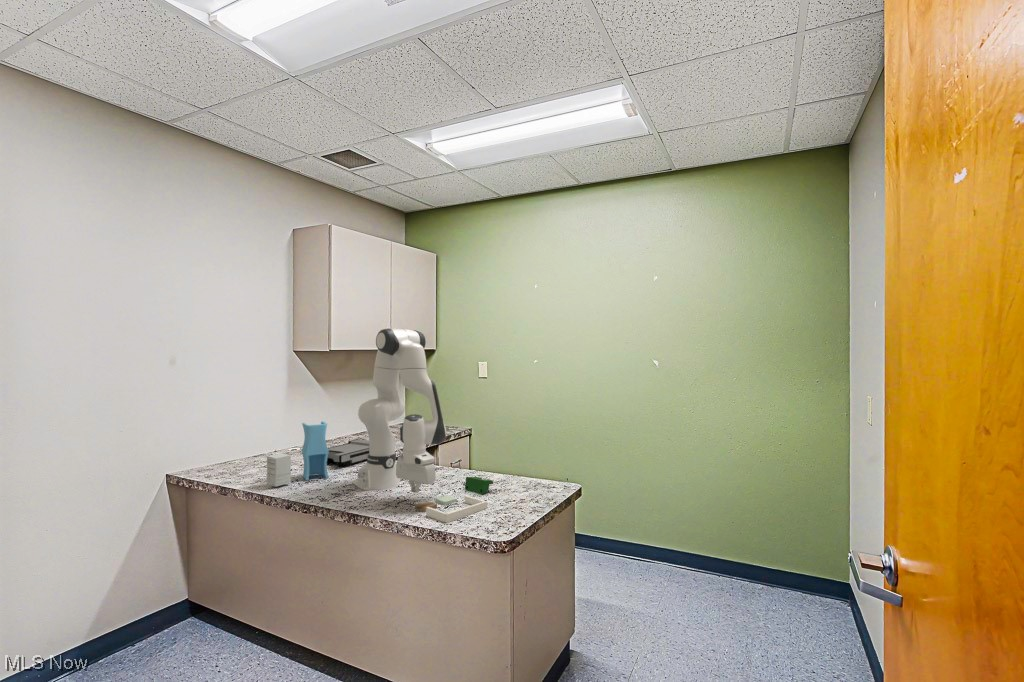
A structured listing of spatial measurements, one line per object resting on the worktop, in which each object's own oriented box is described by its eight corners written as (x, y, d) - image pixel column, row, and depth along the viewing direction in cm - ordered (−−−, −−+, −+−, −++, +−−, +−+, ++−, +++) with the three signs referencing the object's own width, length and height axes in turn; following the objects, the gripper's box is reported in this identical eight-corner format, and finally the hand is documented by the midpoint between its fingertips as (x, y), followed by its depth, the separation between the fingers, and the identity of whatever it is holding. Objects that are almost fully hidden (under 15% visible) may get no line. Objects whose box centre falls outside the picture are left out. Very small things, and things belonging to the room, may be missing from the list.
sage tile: (435, 503, 201) (435, 498, 201) (447, 500, 205) (447, 495, 205) (444, 507, 197) (444, 502, 197) (456, 503, 201) (456, 498, 201)
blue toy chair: (323, 472, 247) (323, 421, 248) (328, 477, 239) (328, 423, 239) (301, 475, 242) (302, 422, 242) (306, 480, 234) (306, 425, 234)
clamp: (488, 502, 214) (497, 483, 213) (478, 502, 210) (487, 483, 209) (471, 486, 222) (480, 468, 221) (461, 486, 218) (470, 467, 217)
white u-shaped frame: (426, 515, 186) (426, 507, 186) (466, 503, 201) (466, 495, 201) (446, 523, 178) (446, 514, 178) (487, 509, 193) (487, 501, 193)
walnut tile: (414, 510, 194) (414, 504, 194) (427, 506, 198) (427, 501, 198) (424, 513, 190) (424, 508, 190) (437, 509, 194) (437, 504, 194)
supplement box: (281, 480, 233) (282, 453, 233) (291, 483, 229) (291, 455, 229) (266, 484, 227) (266, 455, 227) (275, 487, 223) (275, 458, 223)
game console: (312, 465, 264) (312, 449, 264) (356, 453, 293) (357, 439, 293) (341, 469, 255) (341, 453, 255) (385, 457, 283) (385, 442, 283)
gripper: (391, 455, 204) (392, 489, 204) (425, 461, 191) (426, 498, 191) (404, 452, 209) (405, 486, 209) (437, 458, 196) (438, 494, 196)
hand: (415, 492), depth 200 cm, fingers closed
